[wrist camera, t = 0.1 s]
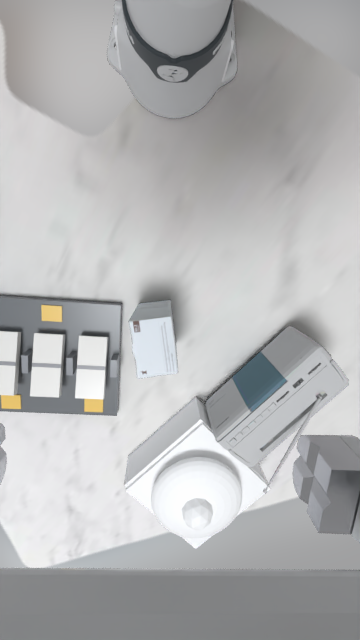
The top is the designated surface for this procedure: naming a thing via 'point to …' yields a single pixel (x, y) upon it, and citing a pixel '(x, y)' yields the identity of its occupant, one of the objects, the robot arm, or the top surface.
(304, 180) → the top surface
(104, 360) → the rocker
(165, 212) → the top surface
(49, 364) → the rocker
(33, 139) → the top surface
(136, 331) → the skincare box
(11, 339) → the block
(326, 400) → the stereo radio cassette player
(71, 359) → the switch unit
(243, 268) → the top surface
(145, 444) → the white domed box
